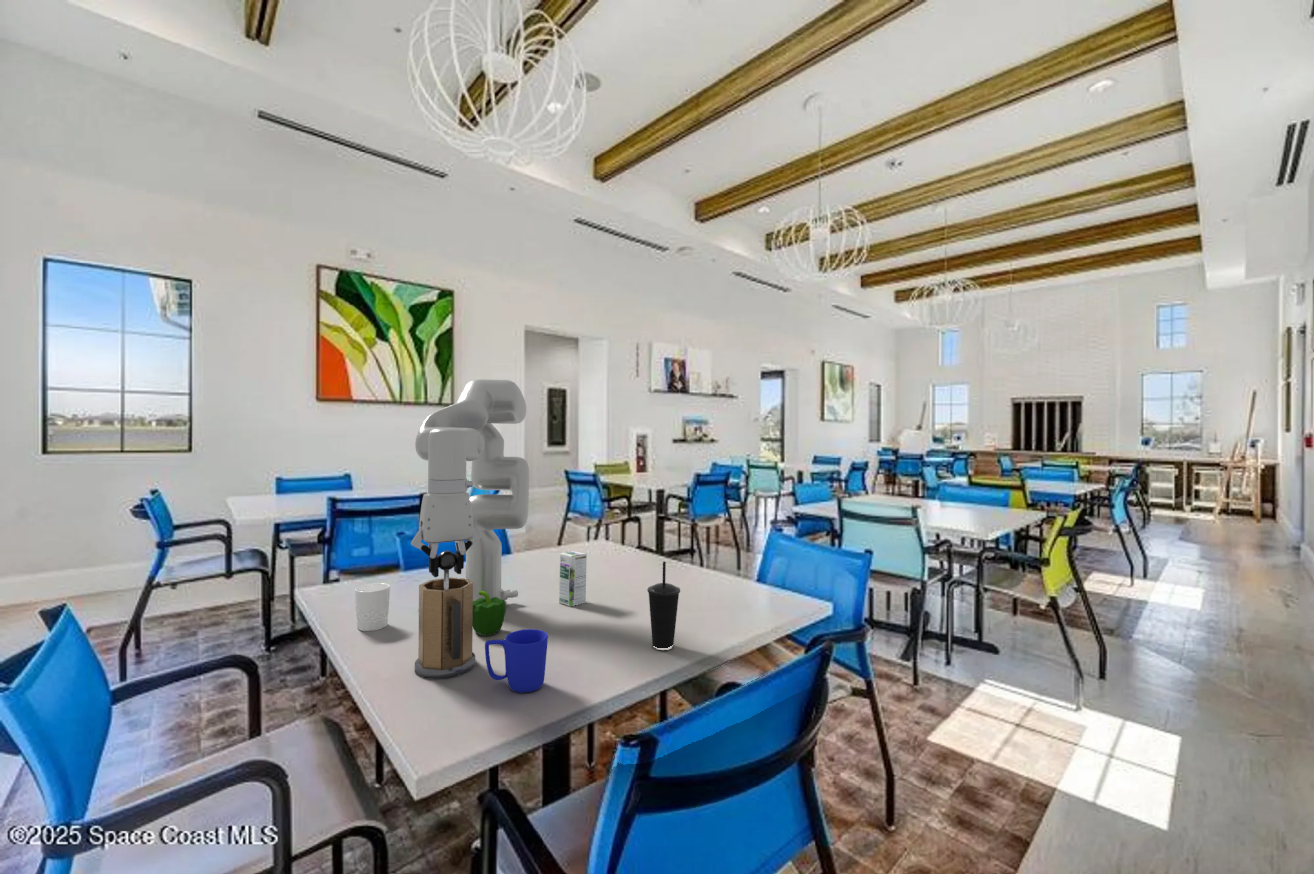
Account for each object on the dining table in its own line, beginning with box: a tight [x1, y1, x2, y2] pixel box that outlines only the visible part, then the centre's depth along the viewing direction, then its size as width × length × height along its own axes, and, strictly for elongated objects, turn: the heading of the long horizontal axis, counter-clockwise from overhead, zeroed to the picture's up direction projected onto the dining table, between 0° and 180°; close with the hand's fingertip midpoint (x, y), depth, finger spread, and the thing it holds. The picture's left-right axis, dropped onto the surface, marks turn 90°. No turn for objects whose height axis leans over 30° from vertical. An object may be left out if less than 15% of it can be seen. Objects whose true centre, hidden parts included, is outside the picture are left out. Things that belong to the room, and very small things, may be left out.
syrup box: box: [558, 550, 588, 607], centre depth 165 cm, size 6×6×14 cm
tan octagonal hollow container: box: [414, 576, 476, 680], centre depth 119 cm, size 12×14×18 cm
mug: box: [484, 628, 549, 694], centre depth 111 cm, size 8×12×10 cm
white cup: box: [354, 582, 391, 632], centre depth 143 cm, size 8×8×10 cm
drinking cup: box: [646, 561, 681, 648], centre depth 133 cm, size 8×8×20 cm
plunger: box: [437, 550, 457, 590], centre depth 120 cm, size 8×8×19 cm
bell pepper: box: [473, 591, 507, 636], centre depth 141 cm, size 8×8×10 cm
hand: (446, 573), depth 120 cm, fingers closed on plunger, 4 cm apart
